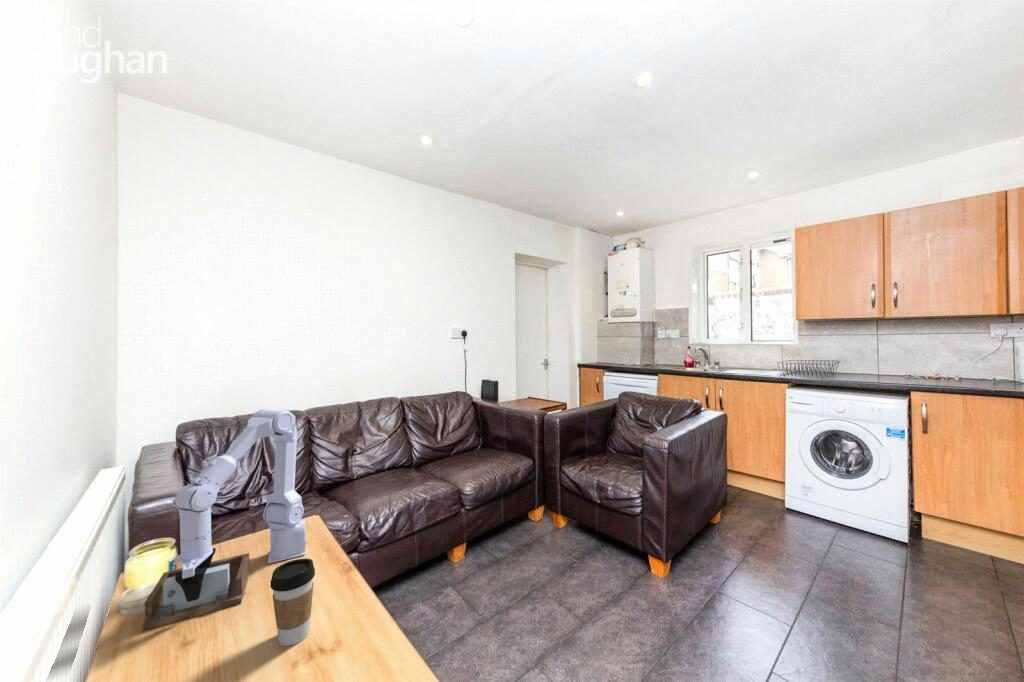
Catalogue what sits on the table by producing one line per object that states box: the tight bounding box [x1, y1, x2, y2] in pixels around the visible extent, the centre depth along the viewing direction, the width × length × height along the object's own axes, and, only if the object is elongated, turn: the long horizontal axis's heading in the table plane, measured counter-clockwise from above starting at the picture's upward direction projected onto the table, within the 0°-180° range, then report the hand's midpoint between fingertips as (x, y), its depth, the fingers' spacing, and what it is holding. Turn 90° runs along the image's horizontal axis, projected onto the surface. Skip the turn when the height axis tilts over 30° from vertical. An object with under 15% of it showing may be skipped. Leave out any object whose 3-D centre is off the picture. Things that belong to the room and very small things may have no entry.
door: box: [163, 564, 230, 611], centre depth 91 cm, size 12×3×7 cm, turn 118°
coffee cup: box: [270, 558, 316, 647], centre depth 82 cm, size 8×8×15 cm
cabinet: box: [142, 552, 251, 632], centre depth 95 cm, size 18×14×6 cm
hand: (197, 591), depth 91 cm, fingers open, 6 cm apart
